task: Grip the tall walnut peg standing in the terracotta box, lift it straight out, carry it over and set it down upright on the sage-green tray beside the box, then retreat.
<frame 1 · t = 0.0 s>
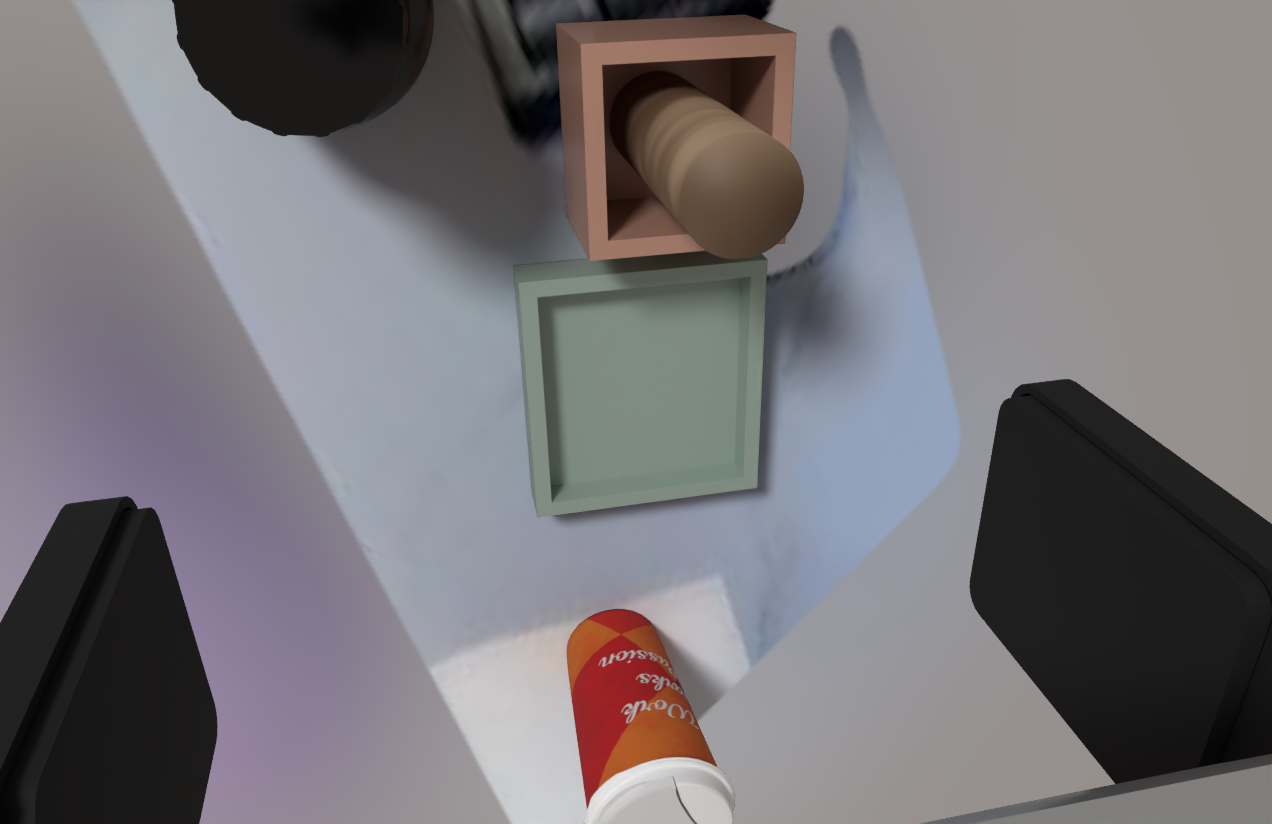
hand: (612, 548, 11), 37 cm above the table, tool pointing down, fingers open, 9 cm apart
terracotta box: (653, 118, 46), on the table
sage tray: (637, 373, 52), on the table
walnut peg: (656, 121, 45), point 1 cm above the table, touching terracotta box
paper cup: (610, 642, 60), on the table
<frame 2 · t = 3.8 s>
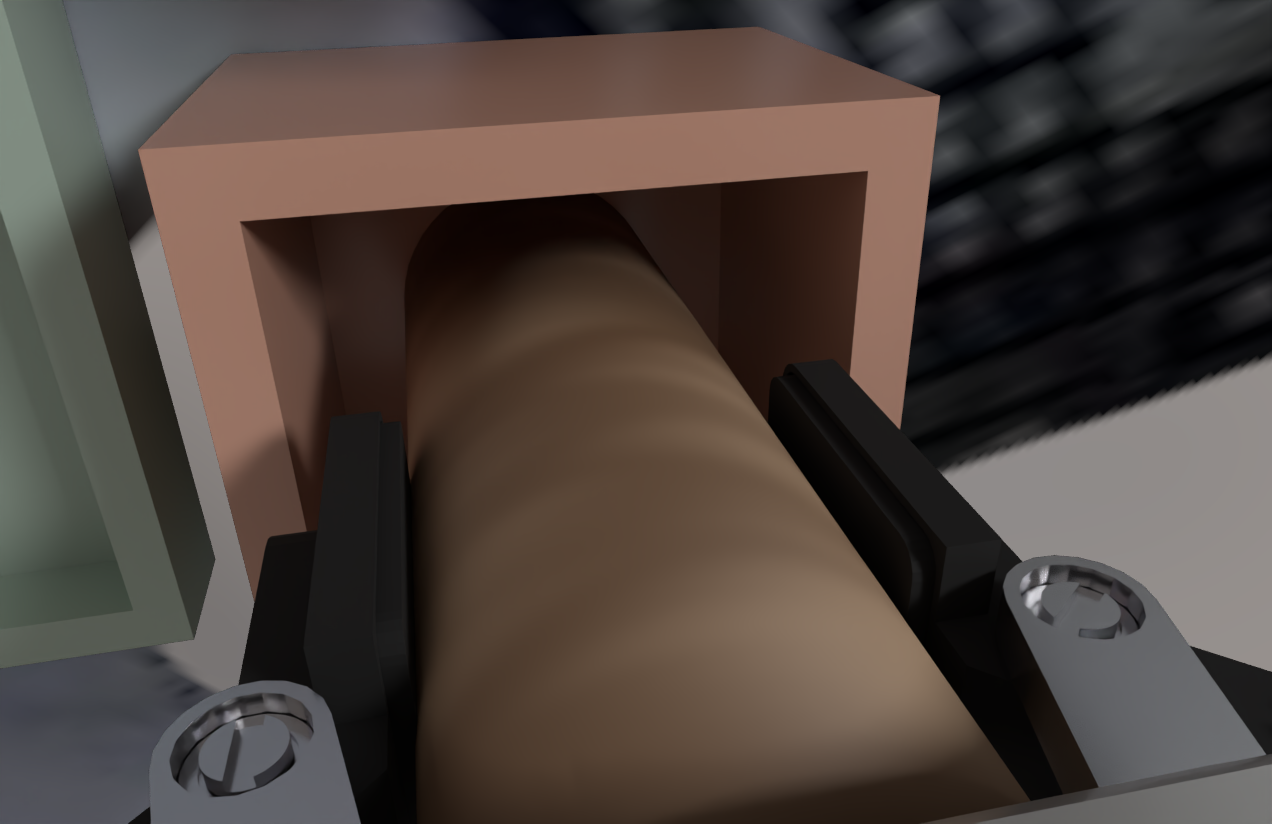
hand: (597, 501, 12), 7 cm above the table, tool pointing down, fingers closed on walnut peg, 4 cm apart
terracotta box: (526, 287, 18), on the table
walnut peg: (530, 299, 18), point 1 cm above the table, touching gripper, terracotta box
when the fingers open (9 cm above the table, at t = 10.4 s): walnut peg drops 1 cm, resting on sage tray.
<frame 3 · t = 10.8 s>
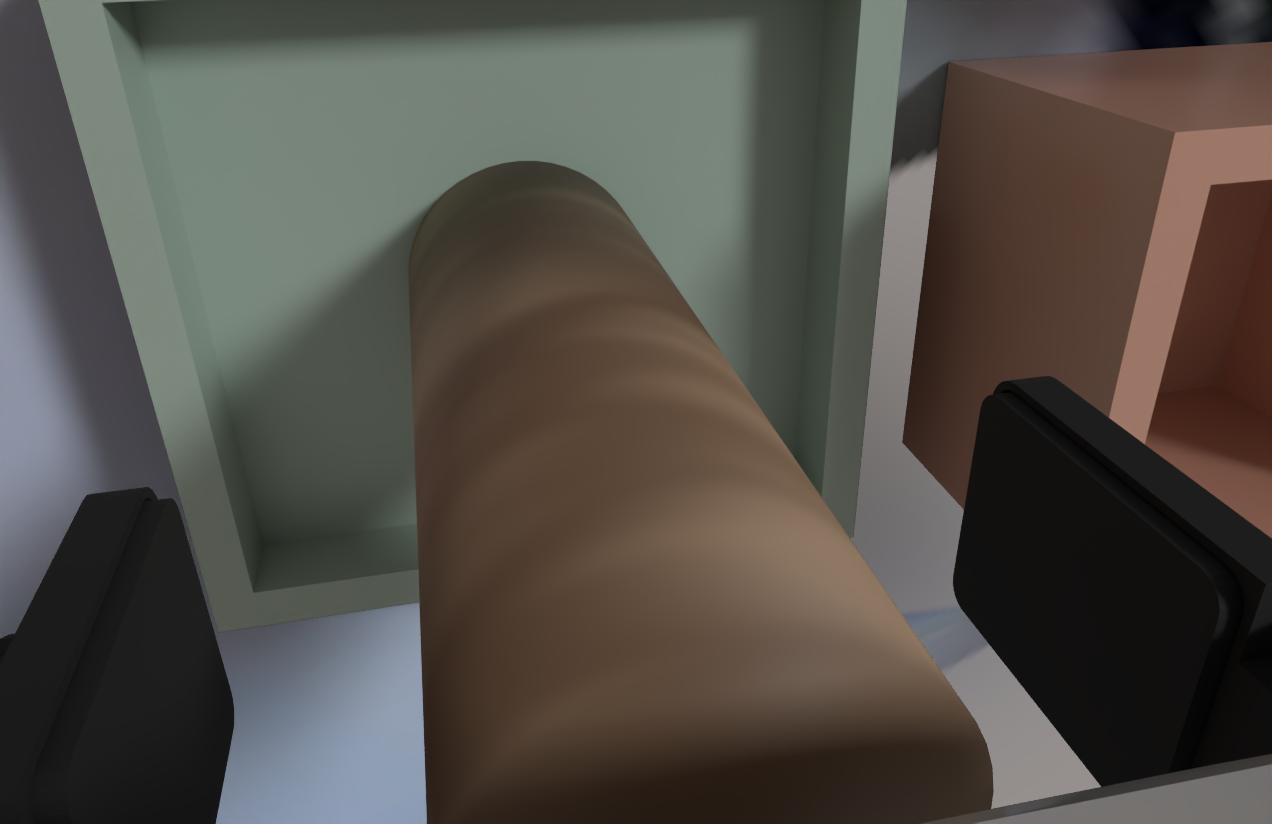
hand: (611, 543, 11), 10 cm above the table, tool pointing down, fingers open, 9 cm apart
terracotta box: (1101, 252, 22), on the table
sage tray: (518, 262, 19), on the table
walnut peg: (527, 277, 19), point 1 cm above the table, touching sage tray
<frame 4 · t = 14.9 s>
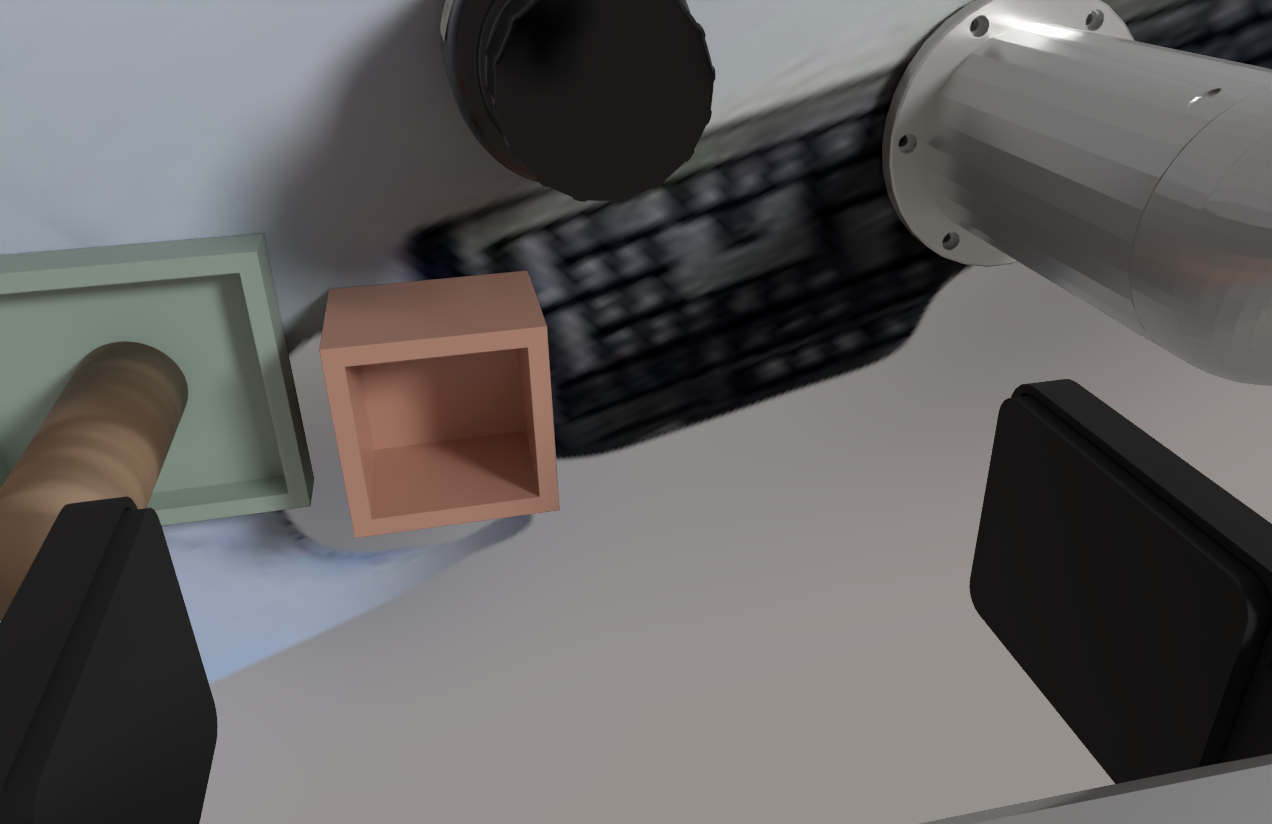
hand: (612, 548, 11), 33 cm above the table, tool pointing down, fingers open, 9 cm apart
terracotta box: (441, 368, 46), on the table
sage tray: (134, 380, 43), on the table
ink bottle: (550, 38, 40), on the table
walnut peg: (132, 388, 42), point 1 cm above the table, touching sage tray
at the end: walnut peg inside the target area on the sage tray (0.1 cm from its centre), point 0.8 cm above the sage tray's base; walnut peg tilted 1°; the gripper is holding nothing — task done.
